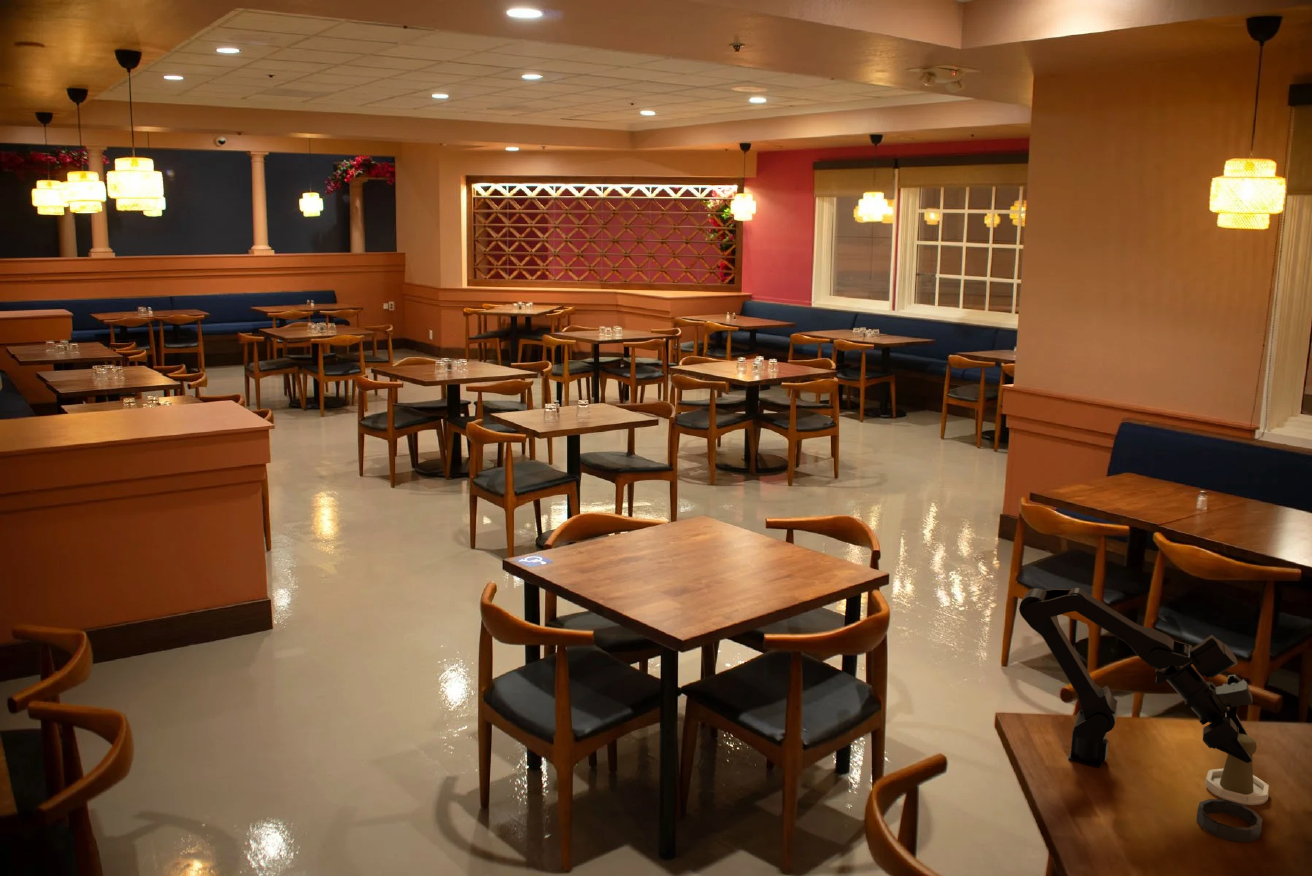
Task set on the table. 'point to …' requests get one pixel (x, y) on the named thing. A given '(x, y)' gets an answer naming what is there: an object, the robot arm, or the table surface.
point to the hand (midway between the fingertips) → (1249, 751)
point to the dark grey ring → (1225, 830)
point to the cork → (1239, 769)
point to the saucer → (1254, 798)
